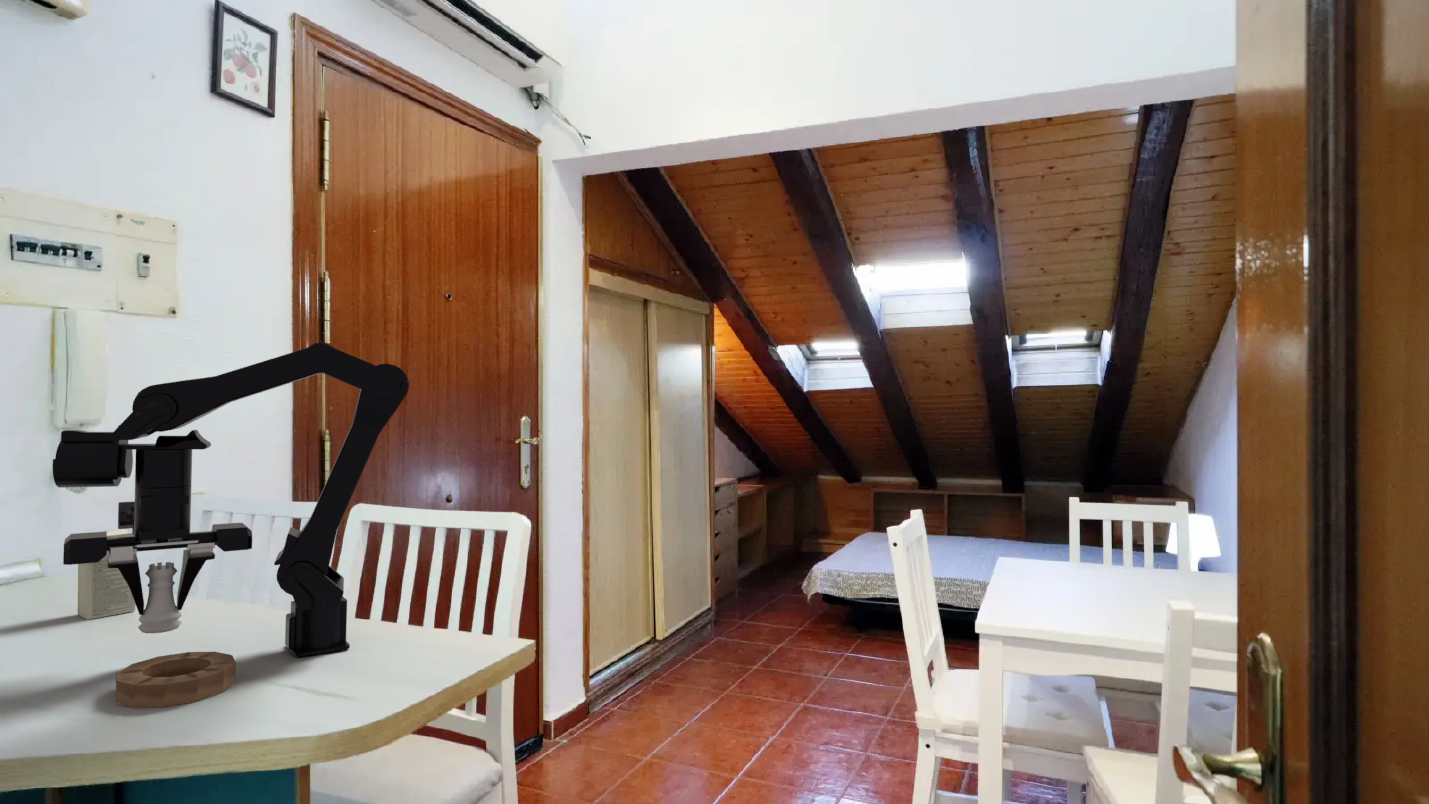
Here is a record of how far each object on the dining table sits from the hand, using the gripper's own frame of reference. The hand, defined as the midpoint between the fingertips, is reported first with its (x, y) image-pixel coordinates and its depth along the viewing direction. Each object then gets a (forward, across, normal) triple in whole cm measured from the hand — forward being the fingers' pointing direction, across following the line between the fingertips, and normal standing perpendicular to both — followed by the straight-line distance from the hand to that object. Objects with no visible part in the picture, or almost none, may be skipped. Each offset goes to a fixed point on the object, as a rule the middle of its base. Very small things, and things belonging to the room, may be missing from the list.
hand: (160, 611), depth 97 cm
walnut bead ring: (+6, -1, +11) cm, 13 cm away
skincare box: (+7, +5, -30) cm, 31 cm away
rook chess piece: (+2, 0, 0) cm, 2 cm away
